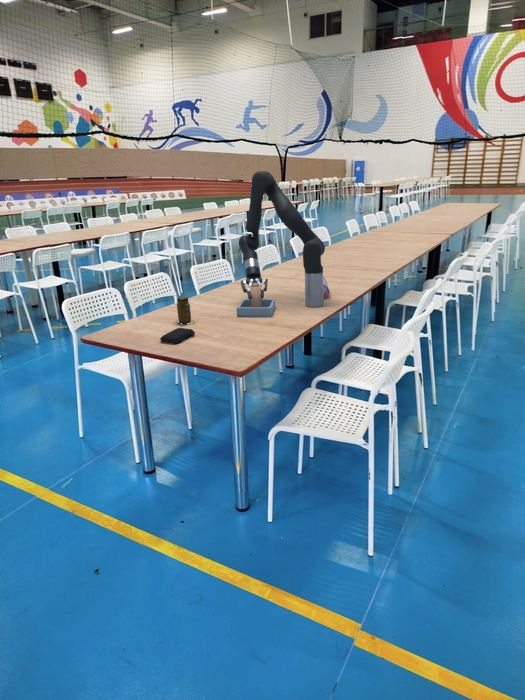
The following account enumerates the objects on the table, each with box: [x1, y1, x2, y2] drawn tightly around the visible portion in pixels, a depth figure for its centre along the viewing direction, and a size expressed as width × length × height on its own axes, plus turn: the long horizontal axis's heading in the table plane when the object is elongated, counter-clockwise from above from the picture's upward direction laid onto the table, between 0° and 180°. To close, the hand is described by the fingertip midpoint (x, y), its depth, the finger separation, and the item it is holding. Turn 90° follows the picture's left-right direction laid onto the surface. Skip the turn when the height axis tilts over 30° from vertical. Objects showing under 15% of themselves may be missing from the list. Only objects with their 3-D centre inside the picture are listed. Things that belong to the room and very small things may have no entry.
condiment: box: [175, 296, 196, 326], centre depth 227 cm, size 7×8×12 cm
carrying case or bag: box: [159, 327, 196, 345], centre depth 208 cm, size 11×3×15 cm
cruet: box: [250, 283, 262, 307], centre depth 237 cm, size 5×5×12 cm
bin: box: [236, 298, 277, 318], centre depth 239 cm, size 17×16×4 cm
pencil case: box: [323, 276, 330, 299], centre depth 265 cm, size 21×9×9 cm, turn 177°
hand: (256, 298), depth 236 cm, fingers open, 5 cm apart
